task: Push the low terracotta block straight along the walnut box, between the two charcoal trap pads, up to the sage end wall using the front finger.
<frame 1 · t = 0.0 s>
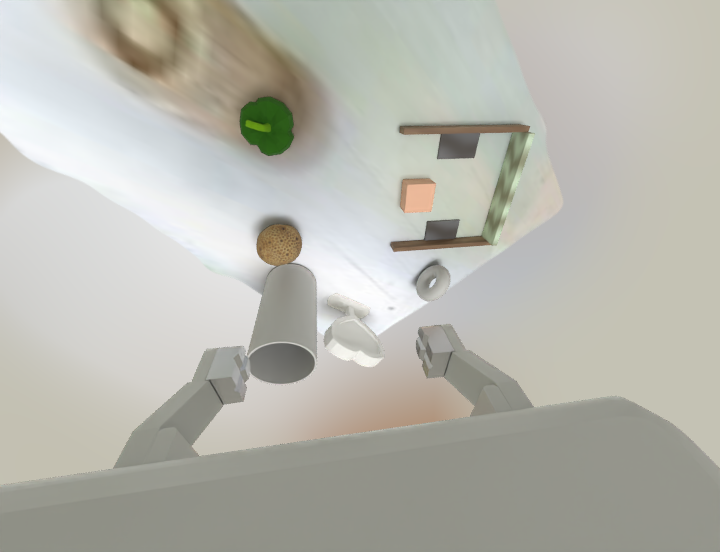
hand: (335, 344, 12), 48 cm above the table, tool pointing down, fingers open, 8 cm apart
natural sponge: (282, 233, 60), on the table
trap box: (448, 191, 60), on the table
bell pepper: (273, 122, 48), on the table
cylinder vase: (291, 282, 68), on the table
donut: (425, 271, 72), on the table
terracotta block: (414, 192, 59), on the table
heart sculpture: (349, 306, 76), on the table
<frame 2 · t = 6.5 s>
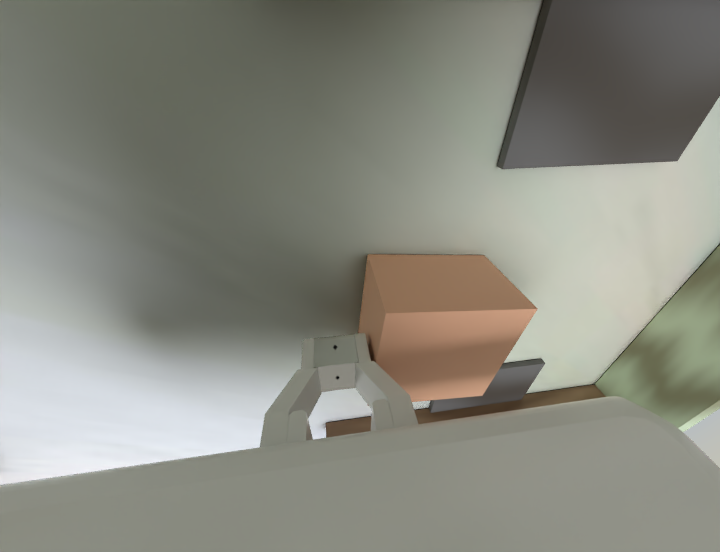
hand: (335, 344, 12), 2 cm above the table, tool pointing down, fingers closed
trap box: (525, 291, 15), on the table
terracotta block: (415, 301, 15), on the table, touching gripper
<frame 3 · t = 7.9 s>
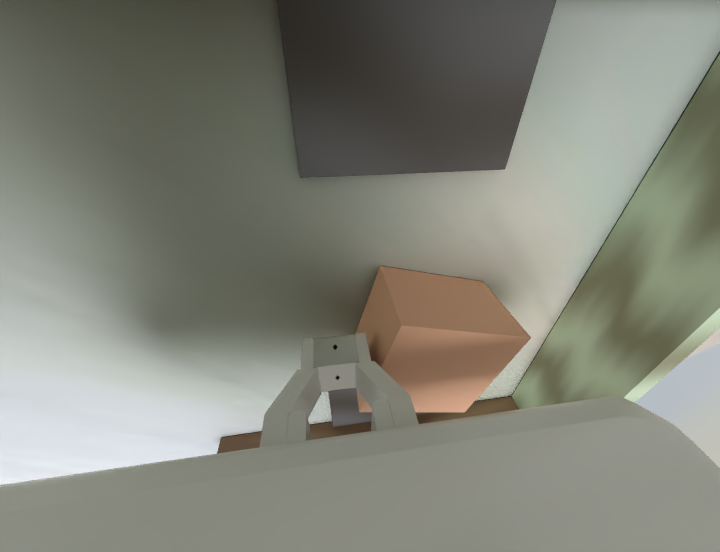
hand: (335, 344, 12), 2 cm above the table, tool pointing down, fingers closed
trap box: (392, 304, 14), on the table
terracotta block: (413, 316, 15), on the table, touching gripper
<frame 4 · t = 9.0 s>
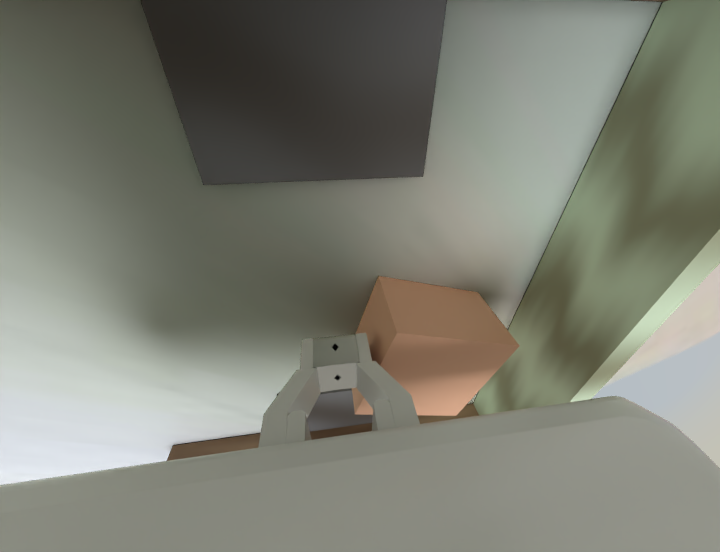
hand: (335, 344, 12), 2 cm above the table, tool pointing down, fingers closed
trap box: (330, 312, 14), on the table
terracotta block: (408, 321, 16), on the table, touching gripper
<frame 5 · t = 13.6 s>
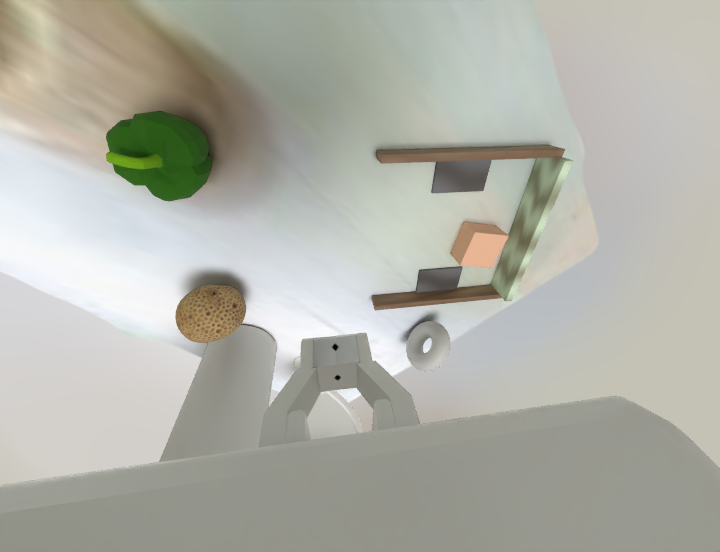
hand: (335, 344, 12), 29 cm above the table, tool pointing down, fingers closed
natural sponge: (223, 289, 45), on the table
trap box: (448, 233, 44), on the table
bell pepper: (185, 146, 32), on the table
cylinder vase: (244, 344, 53), on the table
donut: (418, 326, 57), on the table
terracotta block: (471, 239, 46), on the table
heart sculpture: (322, 366, 60), on the table
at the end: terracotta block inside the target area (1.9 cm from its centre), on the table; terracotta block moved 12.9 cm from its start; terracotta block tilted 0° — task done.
